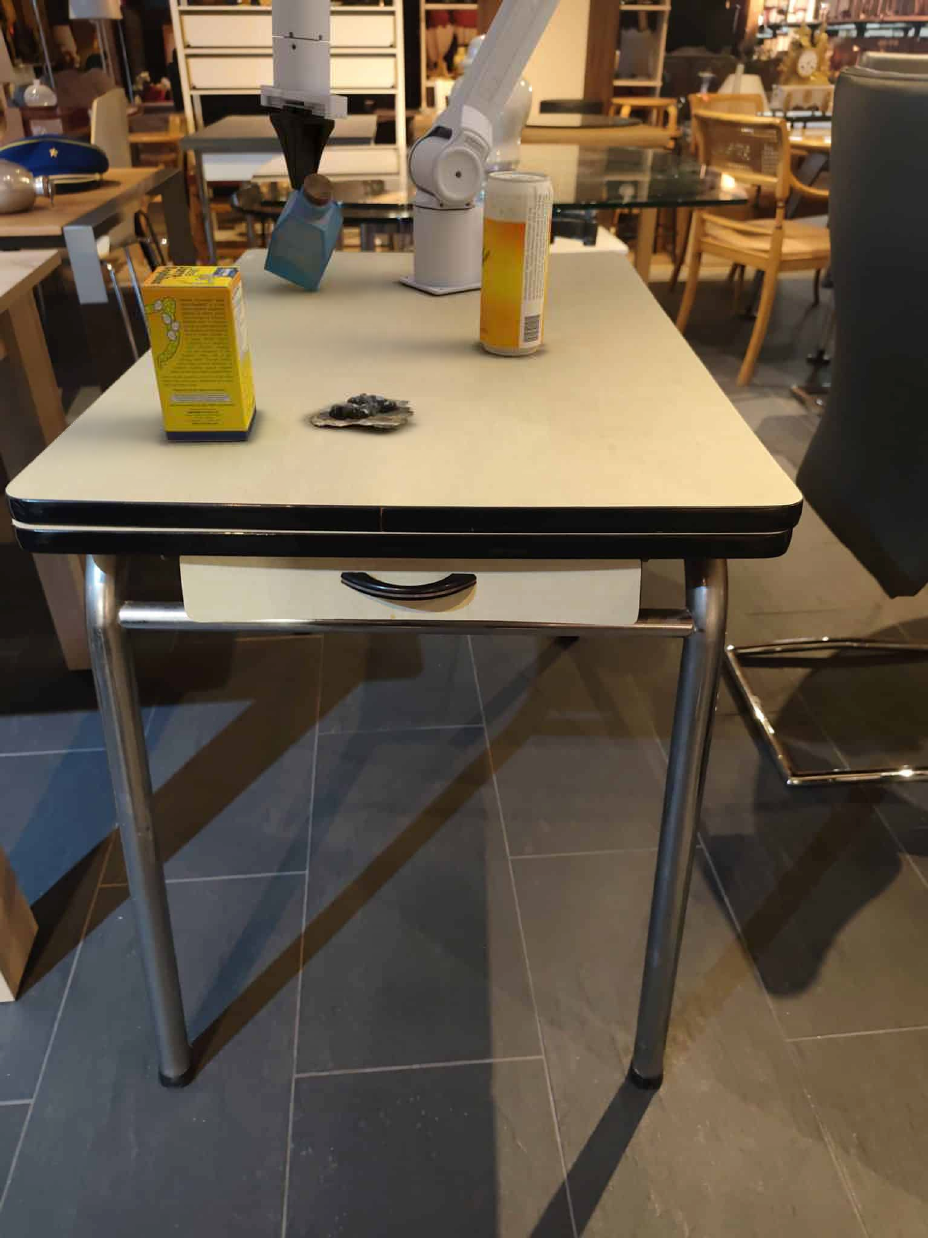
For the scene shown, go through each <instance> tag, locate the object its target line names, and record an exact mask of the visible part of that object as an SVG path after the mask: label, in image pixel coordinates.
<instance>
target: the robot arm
mask: <svg viewBox="0 0 928 1238" xmlns="http://www.w3.org/2000/svg"><path fill="white" fill-rule="evenodd" d="M560 3H561V0H503V1H502V2H501V4H500V5H499V8H498V10H497V12H496V14H495V16H494V18H493V20H492V22H491V24H490V25H489V28H488V29H487V32H486V34H485V35H484V37H483V40H482V42H481V43H480V45H479V47H478V49H477V51H476V53H475V54H474V57H473V59H472V61H471V63H470V66H469V67H468V69H467V71H466V73H465V75H464V77H463V79H462V81H461V82H460V85H459V86H458V89H457V91H456V93H455V95H454V97H453V99H452V101H451V102H450V103H449V104H448V106H447V107H446V108H445V109H444V110H443V111H441V113H440V114H439V115H438V116H436V118H435V120H434V121H433V123H432V126H431V127H430V129H429V130H428V131H427V132H426V134H424V135H423V136H421V137H420V138H418V139H417V140H416V141H415V143H414V144H413V145H412V147H411V148H410V150H409V152H408V156H407V165H406V166H407V172H408V177H409V179H410V181H411V183H412V184H413V186H414V187H415V188H416V191H415V193H414V196H413V198H412V208H413V209H412V229H413V230H412V233H413V234H412V235H413V236H412V237H413V241H412V242H413V243H412V245H413V248H412V249H413V250H412V251H413V275H408V276H402V277H401V276H400V277H399V278H398V282H399V283H401V284H404V285H407V286H410V287H414V288H416V289H419V290H422V291H425V292H427V293H430V294H433V295H445V294H450V293H451V294H452V293H458V292H462V291H469V290H475V289H481V272H482V241H483V210H484V202H481V201H477V198H476V197H477V195H478V194H479V193H480V192H481V190H482V187H483V184H484V181H485V170H486V164H487V161H488V158H489V157H490V155H491V152H492V151H493V147H494V142H493V139H494V138H493V129H494V127H495V125H496V123H497V121H498V119H499V117H500V115H501V114H502V112H503V110H504V108H505V106H506V104H507V102H508V100H509V98H510V97H511V95H512V92H513V91H514V89H515V87H516V86H517V83H518V81H519V79H520V77H521V76H522V74H523V72H524V70H525V68H526V66H527V65H528V63H529V61H530V59H531V57H532V55H533V53H534V51H535V49H536V48H537V45H538V44H539V42H540V40H541V38H542V37H543V34H544V32H545V30H546V29H547V28H548V27H547V26H548V24H549V23H550V21H551V19H552V17H553V15H554V14H555V11H556V10H557V8H558V6H559V4H560ZM270 4H271V35H272V37H271V38H272V39H271V40H272V81H273V82H272V83H273V84H272V85H268V84H260V105H261V106H263V107H273V108H278V109H282V110H281V111H280V112H278V113H273V112H272V113H270V112H269V114H268V117H269V121H270V123H271V125H272V128H273V129H274V131H275V134H276V136H277V138H278V142H279V144H280V146H281V150H282V153H283V157H284V160H285V165H286V170H287V174H288V178H289V182H290V186H291V190H294V191H295V190H301V187H302V186H303V184H304V181H305V178H306V177H307V176H308V175H310V174H319V169H320V163H321V160H322V157H323V153H324V151H325V148H326V145H327V143H328V140H329V138H330V136H331V134H332V133H333V131H334V129H335V127H336V120H347V119H348V97H347V96H342V95H338V94H334V93H332V92H331V0H271V3H270ZM293 103H295V104H293ZM300 103H303V105H298V104H300ZM335 119H336V120H335Z"/></svg>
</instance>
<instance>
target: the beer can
mask: <svg viewBox="0 0 928 1238" xmlns="http://www.w3.org/2000/svg"><path fill="white" fill-rule="evenodd" d="M483 203H484V210H483V241H482V272H481V288H480V305H479V307H480V308H479V333H478V334H479V336H478V337H479V338H478V339H479V341H480V342H481V343H482V345H483V347H484V350H485V351H487V352H489V353H492V354H495V355H498V356H499V355H500V356H507V357H508V356H509V357H510V356H511V357H516V356H519V357H520V356H527V355H531V354H533V353H535V352H536V351H537V350H538V347H539V346H540V345H542V344H543V341H544V329H545V315H546V313H545V312H546V303H547V302H546V299H547V288H548V287H547V285H548V273H549V262H550V261H549V259H550V247H551V246H550V244H551V231H552V217H553V215H552V214H553V203H554V189H553V185H552V183H551V176H550V175H549V174H546V173H543V172H535V171H523V170H522V171H521V170H507V171H505V170H504V171H503V170H502V171H493V172H491V173H489V174H488V179H487V180H486V184H485V186H484V188H483Z"/></svg>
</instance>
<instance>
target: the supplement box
mask: <svg viewBox="0 0 928 1238" xmlns="http://www.w3.org/2000/svg"><path fill="white" fill-rule="evenodd" d="M139 289H140V294H141V299H142V305H143V310H144V316H145V320H146V327H147V333H148V340H149V344H150V351H151V355H152V362H153V368H154V373H155V374H154V375H155V379H156V385H157V391H158V396H159V403H160V408H161V414H162V420H163V426H164V430H165V431H164V432H165V435H166V440H167V441H168V443H169V442H171V443H172V442H174V443H175V442H228V441H231V442H232V441H235V442H236V441H247V440H249V438H250V435H251V431H252V428H253V426H254V422H255V418H256V414H257V404H256V394H255V387H254V378H253V369H252V358H251V351H250V342H249V335H248V334H249V333H248V326H247V325H248V324H247V316H246V307H245V297H244V289H243V280H242V270H241V268H240V266H238V265H220V266H219V265H218V266H217V265H213V266H212V265H211V266H209V265H207V266H206V265H195V266H194V265H161V266H157V267H156V268H155V270H154V271H153V272H152V273H151V274H150V275H149V276H148V277H147V278H146V280H144V282H143V283H141V285H139Z"/></svg>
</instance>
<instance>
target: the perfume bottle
mask: <svg viewBox="0 0 928 1238" xmlns="http://www.w3.org/2000/svg"><path fill="white" fill-rule="evenodd" d="M334 194H335V186H334V184H333V182H332V181H331V180H330V178H329V177H327V176H325V175H324V174H320V173H317V174H310V175H308V176H307V177H306V178H305V181H304V184H303V186H302V187H301V190H295V189H294V190H293V191H291V192H290V194H289V196H288V198H287V201H286V203H285V204H284V207H283V208H282V211H281V213H280V215H279V217H278V219H277V221H276V223H275V225H274V227H273V229H272V231H271V235H270V240H269V243H268V249H267V253H266V256H265V262H264V265H263V270H264V271H267V272H269V273H271V274H273V275H275V276H276V277H279V278H281V279H284V280H286V281H287V282H290V283H292V284H294V285H296V286H298V287H300V288H302V289H304V290H306V291H309V292H311V293H316V292H317V290H318V287H319V286H320V282H321V280H322V279H323V276H324V274H325V272H326V269H327V267H328V265H329V262H330V260H331V258H332V255H333V253H334V250H335V246H336V243H337V240H338V237H339V234H340V232H341V231H340V230H341V228H342V225H343V222H344V217H343V214H342V213H341V211H340V209H339V207H338V205H337V204H336V203H333V202H334V196H333V195H334Z"/></svg>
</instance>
